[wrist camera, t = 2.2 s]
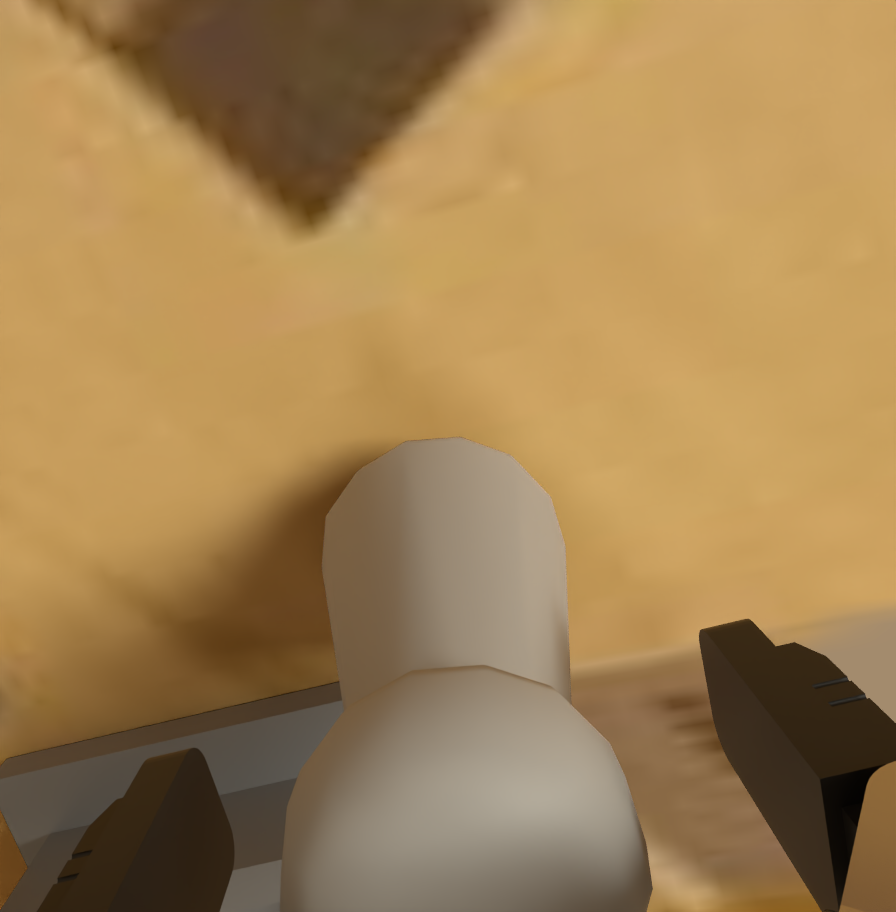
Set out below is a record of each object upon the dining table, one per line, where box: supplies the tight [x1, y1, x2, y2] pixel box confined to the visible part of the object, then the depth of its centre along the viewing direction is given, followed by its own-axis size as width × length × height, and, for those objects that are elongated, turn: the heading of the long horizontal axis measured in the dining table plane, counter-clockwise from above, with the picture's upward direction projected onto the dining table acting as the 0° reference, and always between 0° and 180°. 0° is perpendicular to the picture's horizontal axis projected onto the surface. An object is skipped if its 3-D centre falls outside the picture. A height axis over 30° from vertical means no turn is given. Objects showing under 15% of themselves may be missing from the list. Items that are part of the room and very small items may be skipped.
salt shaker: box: [280, 437, 653, 912], centre depth 14 cm, size 6×6×13 cm
